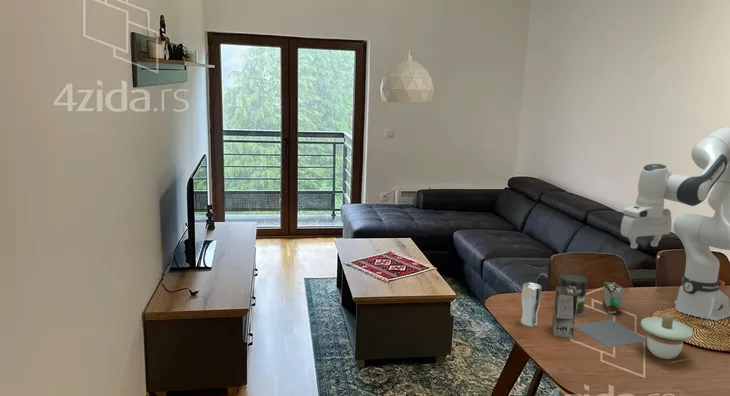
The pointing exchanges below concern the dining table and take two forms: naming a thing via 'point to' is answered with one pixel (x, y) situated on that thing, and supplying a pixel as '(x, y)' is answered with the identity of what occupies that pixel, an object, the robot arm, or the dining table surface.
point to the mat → (610, 333)
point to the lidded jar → (664, 346)
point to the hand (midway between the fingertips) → (644, 247)
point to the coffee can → (575, 288)
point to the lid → (667, 327)
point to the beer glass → (530, 303)
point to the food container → (612, 297)
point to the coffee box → (564, 311)
